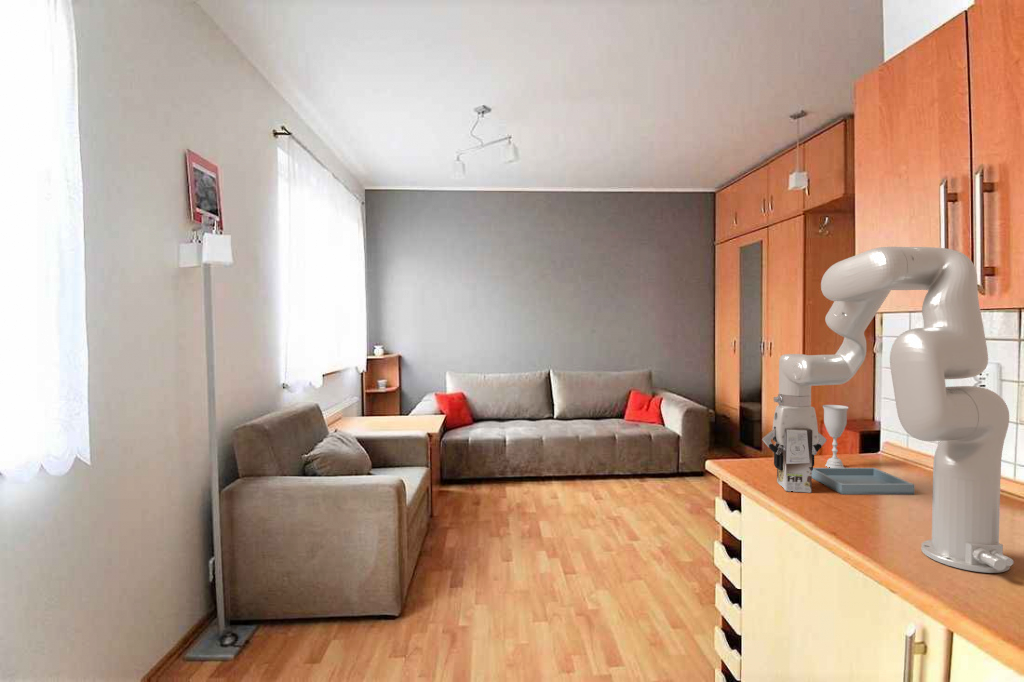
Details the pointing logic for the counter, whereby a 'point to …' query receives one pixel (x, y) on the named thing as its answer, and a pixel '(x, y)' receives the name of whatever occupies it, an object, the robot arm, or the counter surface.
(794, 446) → the coffee box
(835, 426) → the chalice
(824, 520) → the counter surface
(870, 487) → the tray
